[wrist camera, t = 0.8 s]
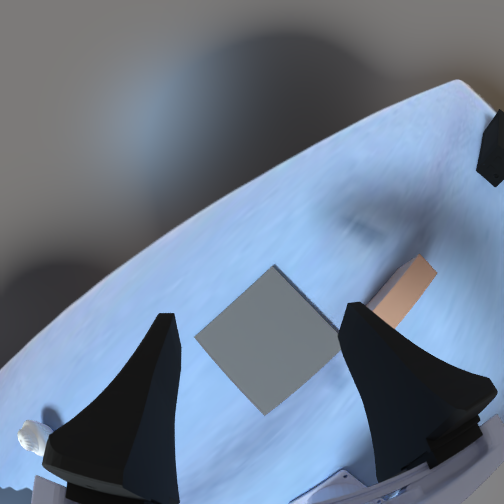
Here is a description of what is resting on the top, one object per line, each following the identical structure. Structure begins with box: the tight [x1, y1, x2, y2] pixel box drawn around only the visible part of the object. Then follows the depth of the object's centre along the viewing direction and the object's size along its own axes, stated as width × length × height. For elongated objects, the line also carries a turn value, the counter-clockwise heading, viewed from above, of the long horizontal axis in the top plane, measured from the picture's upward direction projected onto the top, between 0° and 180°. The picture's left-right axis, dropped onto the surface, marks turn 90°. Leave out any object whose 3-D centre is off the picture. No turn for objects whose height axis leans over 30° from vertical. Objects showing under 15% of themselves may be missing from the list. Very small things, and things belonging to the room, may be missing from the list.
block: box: [366, 254, 437, 329], centre depth 23 cm, size 3×8×6 cm, turn 132°
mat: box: [194, 266, 341, 416], centre depth 26 cm, size 11×11×1 cm
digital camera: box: [476, 109, 504, 187], centre depth 24 cm, size 10×5×7 cm, turn 142°
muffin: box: [18, 420, 53, 456], centre depth 22 cm, size 6×6×7 cm
